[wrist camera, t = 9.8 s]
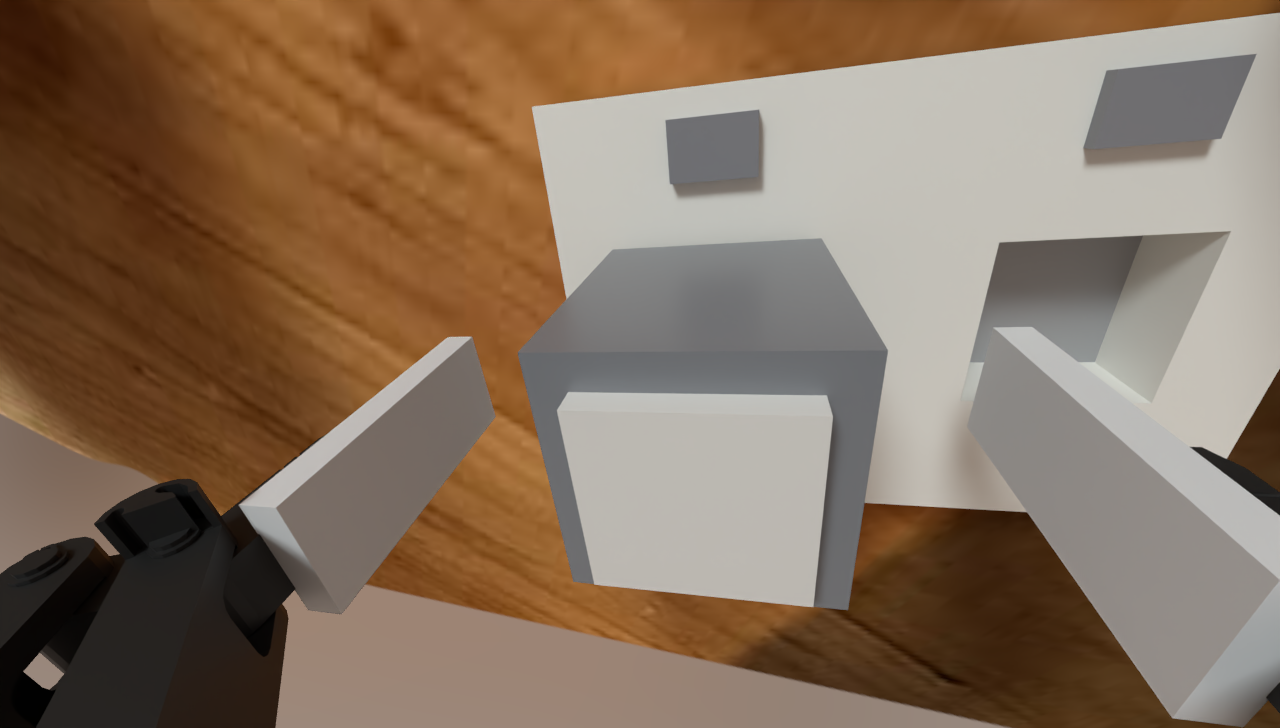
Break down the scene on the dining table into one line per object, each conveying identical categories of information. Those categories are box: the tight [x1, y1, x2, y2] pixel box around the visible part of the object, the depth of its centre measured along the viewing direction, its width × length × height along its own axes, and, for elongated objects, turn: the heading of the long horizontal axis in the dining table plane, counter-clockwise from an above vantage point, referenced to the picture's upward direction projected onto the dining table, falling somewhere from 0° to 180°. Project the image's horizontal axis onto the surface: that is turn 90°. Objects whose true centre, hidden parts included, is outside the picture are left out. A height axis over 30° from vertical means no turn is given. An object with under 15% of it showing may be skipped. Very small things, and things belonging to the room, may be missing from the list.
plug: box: [518, 238, 888, 610], centre depth 13 cm, size 6×6×11 cm
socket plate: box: [532, 13, 1280, 512], centre depth 15 cm, size 20×14×3 cm
